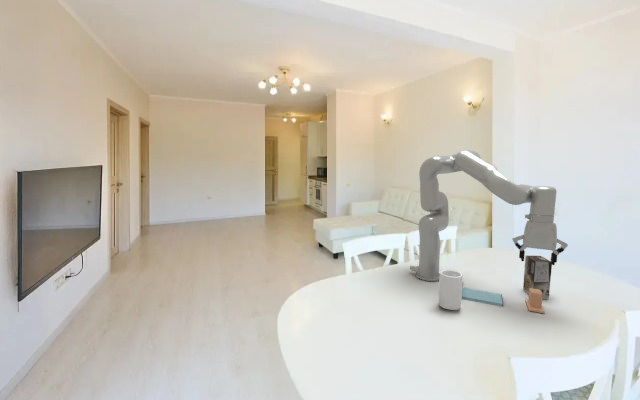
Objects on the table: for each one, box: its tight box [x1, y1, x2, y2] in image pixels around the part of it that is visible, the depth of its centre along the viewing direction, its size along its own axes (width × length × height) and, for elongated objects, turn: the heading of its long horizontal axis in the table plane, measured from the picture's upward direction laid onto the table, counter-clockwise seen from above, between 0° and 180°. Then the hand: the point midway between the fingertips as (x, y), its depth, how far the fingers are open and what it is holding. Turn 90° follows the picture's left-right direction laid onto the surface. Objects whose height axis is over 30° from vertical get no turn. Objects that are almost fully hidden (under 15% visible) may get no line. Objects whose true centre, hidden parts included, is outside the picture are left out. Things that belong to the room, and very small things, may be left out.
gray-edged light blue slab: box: [462, 287, 504, 307], centre depth 128 cm, size 18×13×3 cm
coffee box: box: [522, 255, 553, 300], centre depth 129 cm, size 9×6×16 cm
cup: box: [438, 269, 464, 311], centre depth 117 cm, size 8×8×14 cm
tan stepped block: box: [524, 288, 545, 314], centre depth 118 cm, size 5×10×6 cm, turn 152°
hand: (537, 262), depth 117 cm, fingers open, 9 cm apart
